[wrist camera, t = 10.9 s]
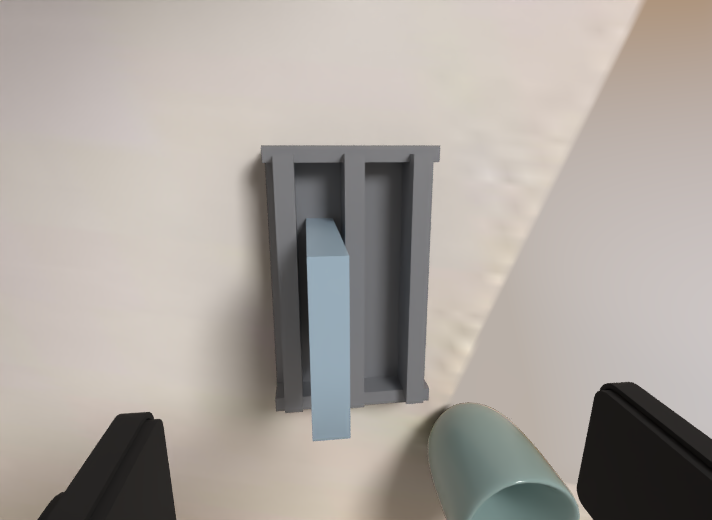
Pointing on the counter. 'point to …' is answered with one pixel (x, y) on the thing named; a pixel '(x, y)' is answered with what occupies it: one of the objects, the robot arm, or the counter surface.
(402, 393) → the rack
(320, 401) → the light blue upright panel
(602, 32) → the counter surface
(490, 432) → the cup
